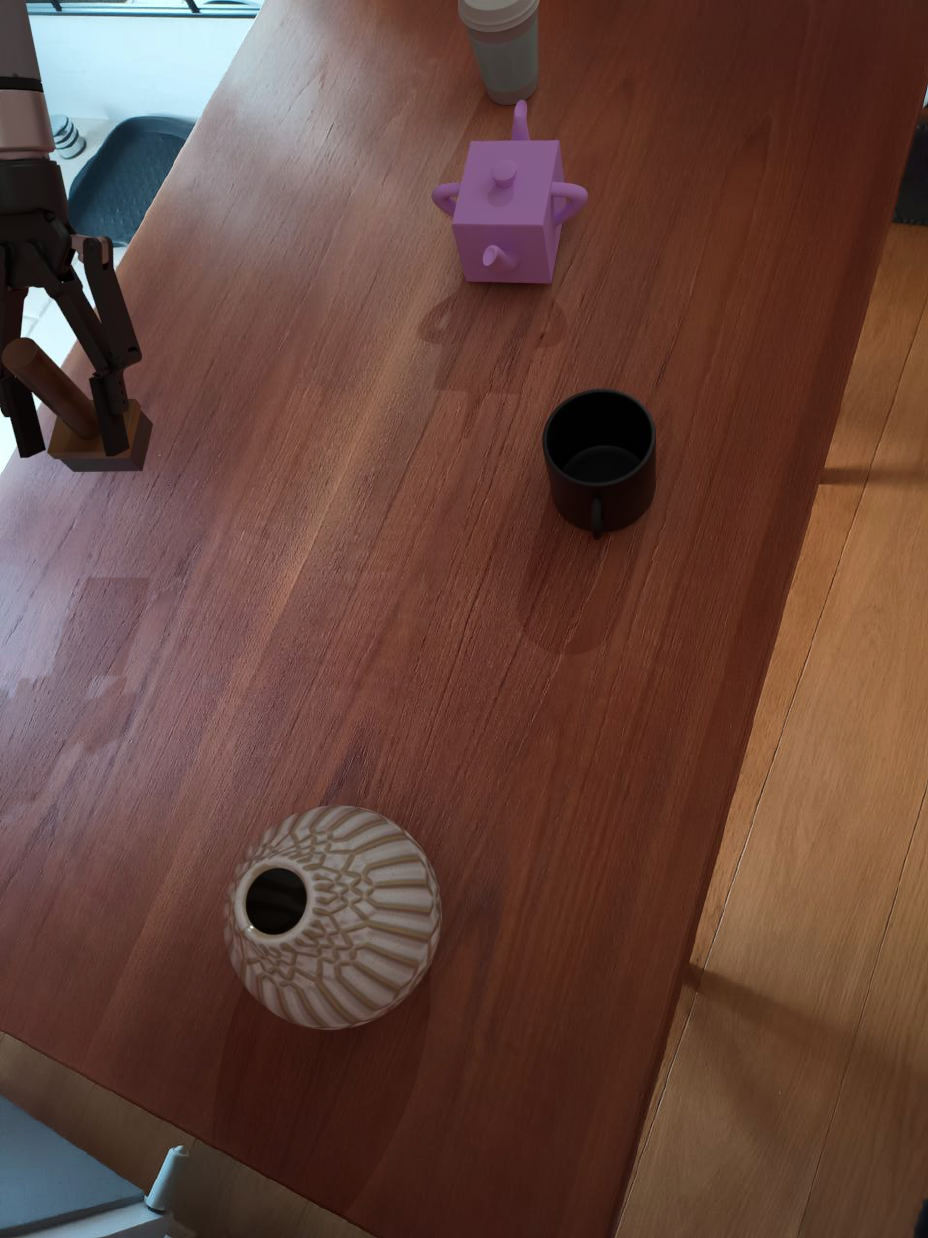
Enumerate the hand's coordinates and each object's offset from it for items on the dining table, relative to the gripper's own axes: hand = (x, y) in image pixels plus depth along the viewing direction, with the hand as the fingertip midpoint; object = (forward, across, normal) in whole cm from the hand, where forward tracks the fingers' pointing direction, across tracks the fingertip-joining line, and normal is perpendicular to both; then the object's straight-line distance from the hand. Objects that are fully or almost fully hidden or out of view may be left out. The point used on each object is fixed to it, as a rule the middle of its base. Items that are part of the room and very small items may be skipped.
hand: (75, 452), depth 82 cm
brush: (+1, 0, -6) cm, 6 cm away
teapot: (-12, -35, -32) cm, 49 cm away
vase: (+35, -26, +15) cm, 47 cm away
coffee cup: (-29, -33, -48) cm, 65 cm away
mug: (+8, -44, -12) cm, 47 cm away
